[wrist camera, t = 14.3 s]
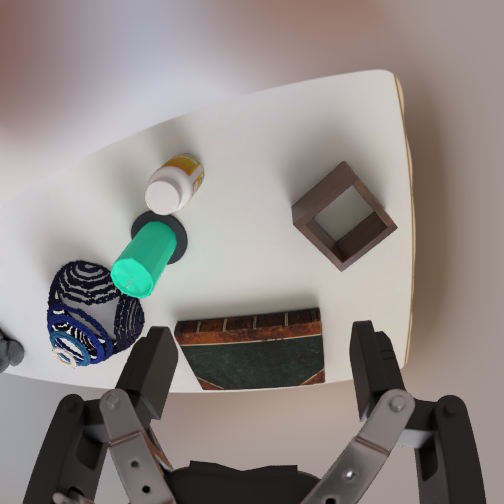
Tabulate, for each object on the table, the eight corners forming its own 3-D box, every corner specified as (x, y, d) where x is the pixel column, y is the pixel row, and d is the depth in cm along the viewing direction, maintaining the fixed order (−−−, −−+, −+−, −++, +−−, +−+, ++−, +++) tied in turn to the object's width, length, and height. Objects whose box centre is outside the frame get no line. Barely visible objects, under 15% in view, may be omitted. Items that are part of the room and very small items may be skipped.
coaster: (122, 237, 46) (121, 239, 46) (152, 198, 43) (151, 200, 42) (166, 272, 49) (164, 274, 49) (199, 238, 45) (198, 240, 45)
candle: (184, 238, 45) (158, 287, 35) (164, 263, 47) (136, 314, 37) (152, 213, 43) (116, 257, 33) (133, 240, 46) (98, 286, 35)
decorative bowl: (147, 351, 60) (124, 407, 48) (67, 326, 60) (38, 373, 47) (142, 275, 50) (107, 335, 37) (49, 252, 49) (5, 298, 37)
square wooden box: (291, 207, 42) (292, 224, 37) (343, 161, 38) (353, 172, 33) (335, 251, 45) (341, 272, 40) (385, 210, 41) (397, 228, 36)
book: (205, 377, 63) (324, 369, 59) (202, 390, 60) (325, 383, 56) (177, 319, 54) (319, 306, 50) (172, 333, 51) (321, 321, 47)
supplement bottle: (160, 161, 40) (130, 184, 31) (195, 147, 38) (172, 167, 30) (176, 196, 42) (151, 227, 34) (210, 183, 41) (193, 212, 33)
